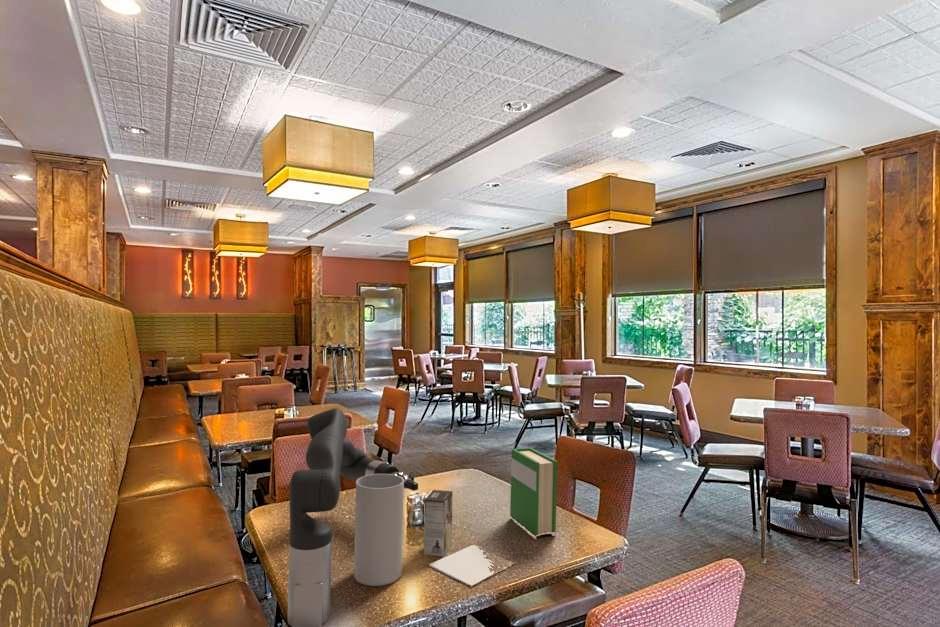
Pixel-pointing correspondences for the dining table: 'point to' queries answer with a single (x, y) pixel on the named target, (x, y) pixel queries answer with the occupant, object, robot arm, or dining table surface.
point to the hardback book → (533, 490)
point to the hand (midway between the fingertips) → (416, 487)
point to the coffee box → (438, 523)
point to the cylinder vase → (378, 529)
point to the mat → (465, 565)
